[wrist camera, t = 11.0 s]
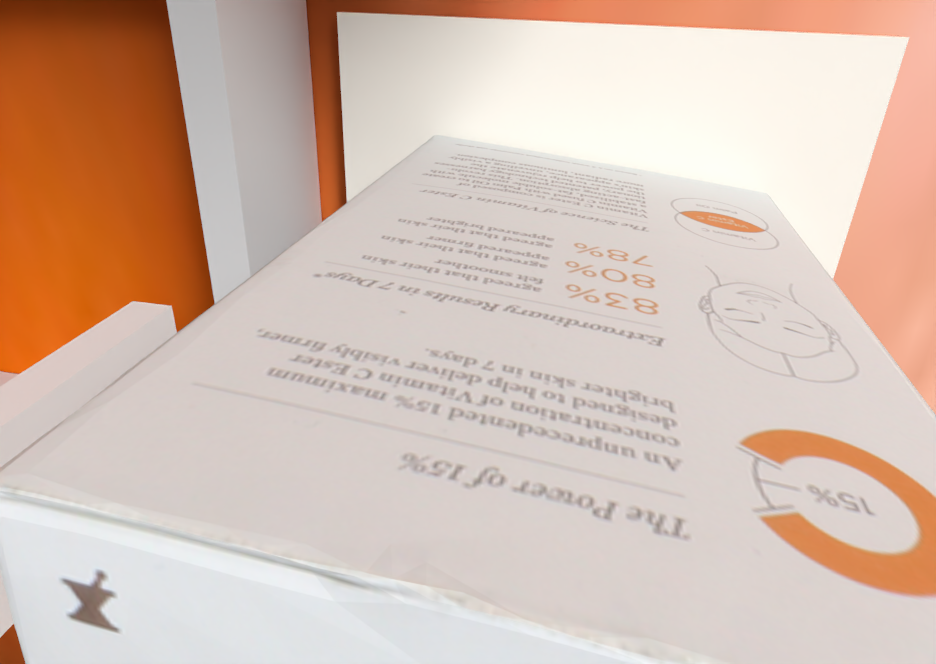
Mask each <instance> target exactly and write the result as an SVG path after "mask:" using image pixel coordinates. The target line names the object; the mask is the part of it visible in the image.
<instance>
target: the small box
mask: <svg viewBox="0 0 936 664" xmlns="http://www.w3.org/2000/svg"><path fill="white" fill-rule="evenodd" d="M0 571H1V575H2V579H3V583H4V587H5V591H6V595H7V599H8V603H9V607H10V611H11V615H12V618H13V622H14V625H15V629H16V632H17V636H18V639H19V643H20V646H21V649H22V653H23V656H24V660H25V663H26V664H936V415H935V413H934V412H933V411H932V409H931V408H930V407H929V405H928V404H927V403H926V401H925V400H924V399H923V398H922V396H921V395H920V394H919V392H918V391H917V390H916V388H915V387H914V386H913V384H912V383H911V382H910V380H909V379H908V378H907V376H906V375H905V374H904V372H903V371H902V370H901V368H900V367H899V366H898V364H897V363H896V362H895V360H894V359H893V358H892V356H891V355H890V354H889V353H888V351H887V350H886V349H885V347H884V346H883V345H882V343H881V342H880V341H879V339H878V338H877V337H876V336H875V334H874V333H873V332H872V330H871V329H870V328H869V326H868V325H867V324H866V322H865V321H864V320H863V319H862V317H861V316H860V315H859V313H858V312H857V311H856V309H855V308H854V307H853V305H852V304H851V303H850V301H849V300H848V299H847V297H846V296H845V295H844V293H843V292H842V291H841V290H840V288H839V287H838V286H837V284H836V283H835V282H834V280H833V279H832V278H831V276H830V275H829V274H828V272H827V271H826V270H825V269H824V267H823V266H822V265H821V263H820V262H819V261H818V259H817V258H816V257H815V255H814V254H813V253H812V252H811V250H810V249H809V248H808V246H807V245H806V244H805V242H804V241H803V240H802V238H801V237H800V236H799V234H798V233H797V232H796V231H795V229H794V228H793V227H792V225H791V224H790V223H789V221H788V220H787V219H786V217H785V216H784V215H783V214H782V212H781V211H780V210H779V208H778V207H777V205H776V204H775V203H774V201H773V200H772V199H771V197H770V196H769V195H768V194H767V193H763V192H758V191H753V190H748V189H742V188H737V187H731V186H726V185H720V184H715V183H710V182H704V181H699V180H694V179H688V178H683V177H678V176H672V175H667V174H661V173H656V172H650V171H645V170H639V169H634V168H628V167H623V166H617V165H611V164H605V163H599V162H594V161H588V160H582V159H576V158H571V157H565V156H559V155H554V154H548V153H542V152H536V151H531V150H525V149H519V148H514V147H508V146H502V145H496V144H490V143H484V142H478V141H472V140H465V139H459V138H452V137H446V136H441V135H434V136H432V138H430V139H429V140H428V141H427V142H426V143H424V144H423V145H421V146H420V147H419V148H418V149H416V150H415V151H414V152H412V153H411V154H410V155H409V156H407V157H406V158H405V159H403V160H402V161H401V162H399V163H398V164H397V165H395V166H394V167H393V168H392V169H390V170H389V171H388V172H386V173H385V174H384V175H383V176H381V177H380V178H379V179H377V180H376V181H375V182H373V183H372V184H371V185H369V186H368V187H367V188H366V189H364V190H363V191H362V192H360V193H359V194H358V195H356V196H355V197H354V198H352V199H351V200H350V201H349V202H347V203H346V204H345V205H343V206H342V207H341V208H340V209H338V210H337V211H336V212H335V213H333V214H332V215H331V216H329V217H328V218H326V219H325V220H324V221H323V222H321V223H320V224H319V225H318V226H316V227H315V228H313V229H312V230H311V231H309V232H308V233H307V234H306V235H304V236H303V237H302V238H300V239H299V240H298V241H297V242H295V243H294V244H293V245H291V246H290V247H289V248H287V249H286V250H285V251H283V252H282V253H281V254H280V255H278V256H277V257H276V258H274V259H273V260H272V261H270V262H269V263H268V264H267V265H265V266H264V267H263V268H261V269H260V270H259V271H257V272H256V273H255V274H253V275H252V276H251V277H250V278H248V279H247V280H246V281H244V282H243V283H242V284H240V285H239V286H238V287H236V288H235V289H234V290H233V291H231V292H230V293H229V294H227V295H226V296H225V297H223V298H222V299H221V300H219V301H218V302H217V303H216V304H214V305H213V306H212V307H210V308H209V309H208V310H206V311H205V312H204V313H202V314H201V315H200V316H198V317H197V318H196V319H195V320H193V321H192V322H191V323H189V324H188V325H187V326H185V327H184V328H183V329H181V330H180V331H179V332H177V333H176V334H175V335H174V336H172V337H171V338H170V339H168V340H167V341H166V342H164V343H163V344H162V345H160V346H159V347H158V348H157V349H155V350H154V351H153V352H151V353H150V354H149V355H147V356H146V357H145V358H143V359H142V360H141V361H139V362H138V363H137V364H136V365H134V366H133V367H132V368H130V369H129V370H128V371H126V372H125V373H124V374H122V375H121V376H120V377H119V378H117V379H116V380H115V381H114V382H112V383H111V384H110V385H109V386H107V387H106V388H105V389H104V390H102V391H101V392H100V393H99V394H97V395H96V396H95V397H94V398H92V399H91V400H90V401H88V402H87V403H86V404H85V405H83V406H82V407H81V408H80V409H78V410H77V411H76V412H74V413H73V414H72V415H70V416H69V417H67V418H66V419H65V420H63V421H62V422H61V423H59V424H58V425H56V426H55V427H54V428H52V429H51V430H50V431H48V432H47V433H45V434H44V435H43V436H41V437H40V438H39V439H37V440H36V441H35V442H33V443H32V444H31V445H29V446H28V447H27V448H25V449H24V450H23V451H22V452H20V453H19V454H18V455H16V456H15V457H14V458H12V459H11V460H10V461H8V462H7V463H6V464H4V465H3V466H2V467H0Z"/></svg>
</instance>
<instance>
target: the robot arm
mask: <svg viewBox="0 0 936 664" xmlns="http://www.w3.org/2000/svg"><path fill="white" fill-rule="evenodd" d="M176 333H177V331H176V326H175V321H174V316H173V311H172V306H169V305H161V304H152V303H144V302H136V301H133V302H131V303H129V304H128V305H126V306H125V307H123V308H122V309H120V310H119V311H117V312H115V313H114V314H112V315H111V316H109V317H108V318H106V319H105V320H103V321H101V322H100V323H98V324H97V325H95V326H94V327H92V328H90V329H89V330H87V331H86V332H84V333H83V334H81V335H80V336H78V337H76V338H75V339H73V340H72V341H70V342H69V343H67V344H66V345H64V346H62V347H61V348H59V349H58V350H56V351H55V352H53V353H52V354H50V355H48V356H47V357H45V358H44V359H42V360H41V361H39V362H38V363H36V364H34V365H33V366H31V367H30V368H28V369H27V370H25V371H24V372H22V373H20V374H19V375H17V376H16V377H14V378H13V379H11V380H10V381H8V382H6V383H5V384H3V385H2V386H0V467H2V466H3V465H4V464H6V463H7V462H8V461H10V460H11V459H12V458H14V457H15V456H16V455H18V454H19V453H20V452H22V451H23V450H24V449H25V448H27V447H28V446H29V445H31V444H32V443H33V442H35V441H36V440H37V439H39V438H40V437H41V436H43V435H44V434H45V433H47V432H48V431H50V430H51V429H52V428H54V427H55V426H56V425H58V424H59V423H61V422H62V421H63V420H65V419H66V418H67V417H69V416H70V415H72V414H73V413H74V412H76V411H77V410H78V409H80V408H81V407H82V406H83V405H85V404H86V403H87V402H88V401H90V400H91V399H92V398H94V397H95V396H96V395H97V394H99V393H100V392H101V391H102V390H104V389H105V388H106V387H107V386H109V385H110V384H111V383H112V382H114V381H115V380H116V379H117V378H119V377H120V376H121V375H122V374H124V373H125V372H126V371H128V370H129V369H130V368H132V367H133V366H134V365H136V364H137V363H138V362H139V361H141V360H142V359H143V358H145V357H146V356H147V355H149V354H150V353H151V352H153V351H154V350H155V349H157V348H158V347H159V346H160V345H162V344H163V343H164V342H166V341H167V340H168V339H170V338H171V337H172V336H174V335H175V334H176ZM13 624H14V622H13V618H12V615H11V611H10V607H9V603H8V599H7V595H6V591H5V587H4V583H3V579H2V575H1V571H0V637H1V636H2V635H3V634H4V633H5V632H6V631H7V630H8V629H9V628H10V627H11V626H12V625H13Z"/></svg>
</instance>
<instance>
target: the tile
mask: <svg viewBox="0 0 936 664" xmlns="http://www.w3.org/2000/svg"><path fill="white" fill-rule="evenodd" d="M337 25H338V44H339V63H340V82H341V101H342V120H343V139H344V158H345V177H346V196H347V202H349V201H350V200H351V199H352V198H354V197H355V196H356V195H358V194H359V193H360V192H362V191H363V190H364V189H366V188H367V187H368V186H369V185H371V184H372V183H373V182H375V181H376V180H377V179H379V178H380V177H381V176H383V175H384V174H385V173H386V172H388V171H389V170H390V169H392V168H393V167H394V166H395V165H397V164H398V163H399V162H401V161H402V160H403V159H405V158H406V157H407V156H409V155H410V154H411V153H412V152H414V151H415V150H416V149H418V148H419V147H420V146H421V145H423V144H424V143H426V142H427V141H428V140H429V139H430V138H432V136H434V135H441V136H446V137H452V138H459V139H465V140H472V141H478V142H484V143H490V144H496V145H502V146H508V147H514V148H519V149H525V150H531V151H536V152H542V153H548V154H554V155H559V156H565V157H571V158H576V159H582V160H588V161H594V162H599V163H605V164H611V165H617V166H623V167H628V168H634V169H639V170H645V171H650V172H656V173H661V174H667V175H672V176H678V177H683V178H688V179H694V180H699V181H704V182H710V183H715V184H720V185H726V186H731V187H737V188H742V189H748V190H753V191H758V192H763V193H767V194H768V195H769V196H770V197H771V199H772V200H773V201H774V203H775V204H776V205H777V207H778V208H779V210H780V211H781V212H782V214H783V215H784V216H785V217H786V219H787V220H788V221H789V223H790V224H791V225H792V227H793V228H794V229H795V231H796V232H797V233H798V234H799V236H800V237H801V238H802V240H803V241H804V242H805V244H806V245H807V246H808V248H809V249H810V250H811V252H812V253H813V254H814V255H815V257H816V258H817V259H818V261H819V262H820V263H821V265H822V266H823V267H824V269H825V270H826V271H827V272H828V274H829V275H830V276H831V278H832V279H833V277H834V274H835V271H836V268H837V265H838V262H839V258H840V255H841V252H842V249H843V246H844V242H845V239H846V236H847V233H848V230H849V227H850V223H851V220H852V217H853V214H854V211H855V208H856V204H857V201H858V198H859V195H860V192H861V189H862V185H863V182H864V179H865V176H866V173H867V170H868V166H869V163H870V160H871V157H872V154H873V151H874V147H875V144H876V141H877V138H878V135H879V132H880V128H881V125H882V122H883V119H884V116H885V113H886V109H887V106H888V103H889V100H890V97H891V94H892V90H893V87H894V84H895V81H896V78H897V75H898V71H899V68H900V65H901V62H902V59H903V55H904V52H905V49H906V46H907V43H908V40H909V37H901V36H885V35H862V34H840V33H817V32H795V31H772V30H749V29H727V28H704V27H682V26H659V25H636V24H614V23H591V22H569V21H546V20H523V19H501V18H478V17H456V16H433V15H410V14H388V13H365V12H337Z"/></svg>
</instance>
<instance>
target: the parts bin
mask: <svg viewBox="0 0 936 664" xmlns="http://www.w3.org/2000/svg"><path fill="white" fill-rule="evenodd" d="M166 2H167V8H168V14H169V20H170V27H171V33H172V39H173V45H174V52H175V58H176V64H177V71H178V77H179V83H180V89H181V96H182V102H183V108H184V114H185V121H186V127H187V133H188V139H189V146H190V152H191V158H192V164H193V171H194V177H195V183H196V190H197V196H198V202H199V208H200V215H201V221H202V227H203V233H204V240H205V246H206V252H207V258H208V265H209V271H210V277H211V283H212V290H213V296H214V302H215V304H216V303H217V302H218V301H219V300H221V299H222V298H223V297H225V296H226V295H227V294H229V293H230V292H231V291H233V290H234V289H235V288H236V287H238V286H239V285H240V284H242V283H243V282H244V281H246V280H247V279H248V278H250V277H251V276H252V275H253V274H255V273H256V272H257V271H259V270H260V269H261V268H263V267H264V266H265V265H267V264H268V263H269V262H270V261H272V260H273V259H274V258H276V257H277V256H278V255H280V254H281V253H282V252H283V251H285V250H286V249H287V248H289V247H290V246H291V245H293V244H294V243H295V242H297V241H298V240H299V239H300V238H302V237H303V236H304V235H306V234H307V233H308V232H309V231H311V230H312V229H313V228H315V227H316V226H318V225H319V224H320V223H321V222H322V216H321V202H320V188H319V174H318V160H317V146H316V133H315V119H314V105H313V91H312V77H311V63H310V49H309V35H308V21H307V7H306V0H166ZM17 375H19V374H14V373H7V372H1V371H0V386H2V385H3V384H5V383H6V382H8V381H10V380H11V379H13V378H14V377H16V376H17Z"/></svg>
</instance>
